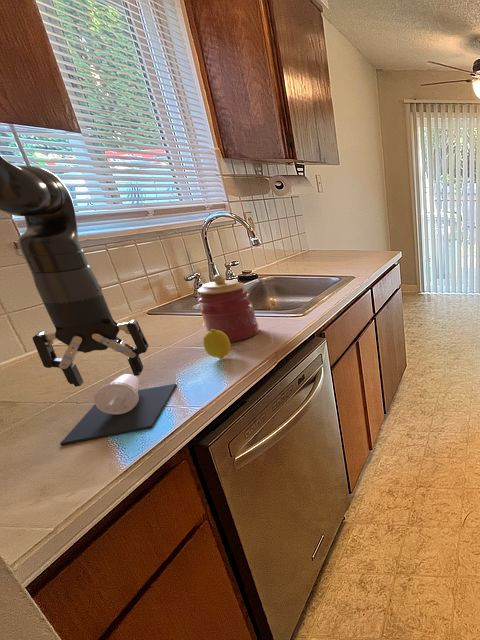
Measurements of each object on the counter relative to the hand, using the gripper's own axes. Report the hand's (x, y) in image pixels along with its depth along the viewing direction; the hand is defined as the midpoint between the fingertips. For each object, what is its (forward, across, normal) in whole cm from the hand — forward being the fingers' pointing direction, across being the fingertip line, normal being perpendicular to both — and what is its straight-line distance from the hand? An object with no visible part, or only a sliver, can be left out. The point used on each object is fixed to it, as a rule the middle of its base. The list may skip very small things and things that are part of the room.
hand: (109, 379), depth 75 cm
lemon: (+8, +16, +20) cm, 27 cm away
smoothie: (+4, 0, +8) cm, 9 cm away
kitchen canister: (+8, +19, +38) cm, 43 cm away
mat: (+7, 0, 0) cm, 7 cm away
